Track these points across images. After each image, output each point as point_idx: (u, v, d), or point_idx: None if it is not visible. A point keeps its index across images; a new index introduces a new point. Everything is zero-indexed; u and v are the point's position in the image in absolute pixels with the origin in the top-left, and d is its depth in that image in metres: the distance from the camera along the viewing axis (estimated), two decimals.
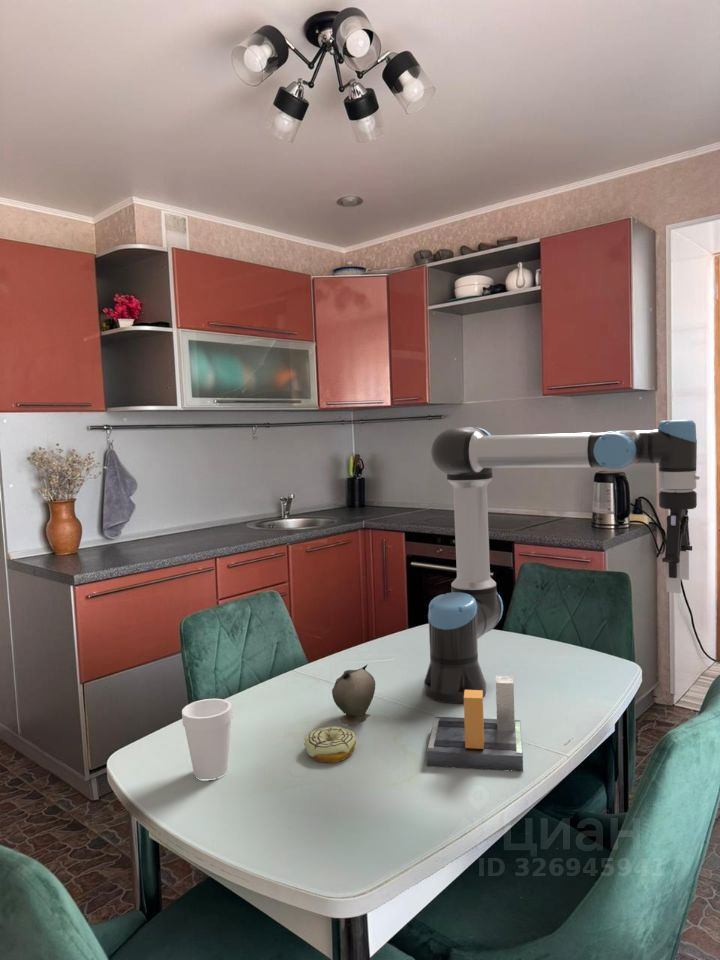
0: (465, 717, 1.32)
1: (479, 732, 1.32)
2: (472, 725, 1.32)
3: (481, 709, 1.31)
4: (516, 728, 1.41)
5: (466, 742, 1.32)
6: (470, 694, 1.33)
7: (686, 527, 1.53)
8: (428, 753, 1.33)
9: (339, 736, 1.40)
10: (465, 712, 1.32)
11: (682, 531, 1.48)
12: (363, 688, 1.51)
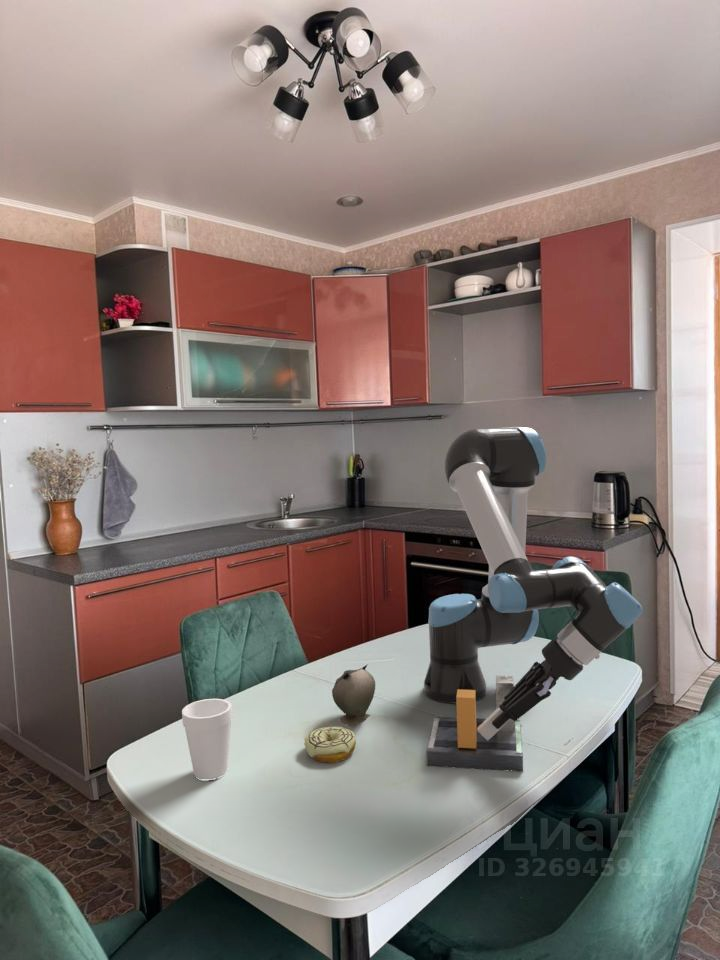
0: (458, 717, 1.32)
1: (471, 731, 1.32)
2: (465, 725, 1.32)
3: (474, 709, 1.32)
4: (516, 728, 1.41)
5: (459, 742, 1.33)
6: (462, 694, 1.33)
7: None
8: (428, 753, 1.33)
9: (339, 736, 1.40)
10: (458, 712, 1.32)
11: None
12: (363, 688, 1.51)
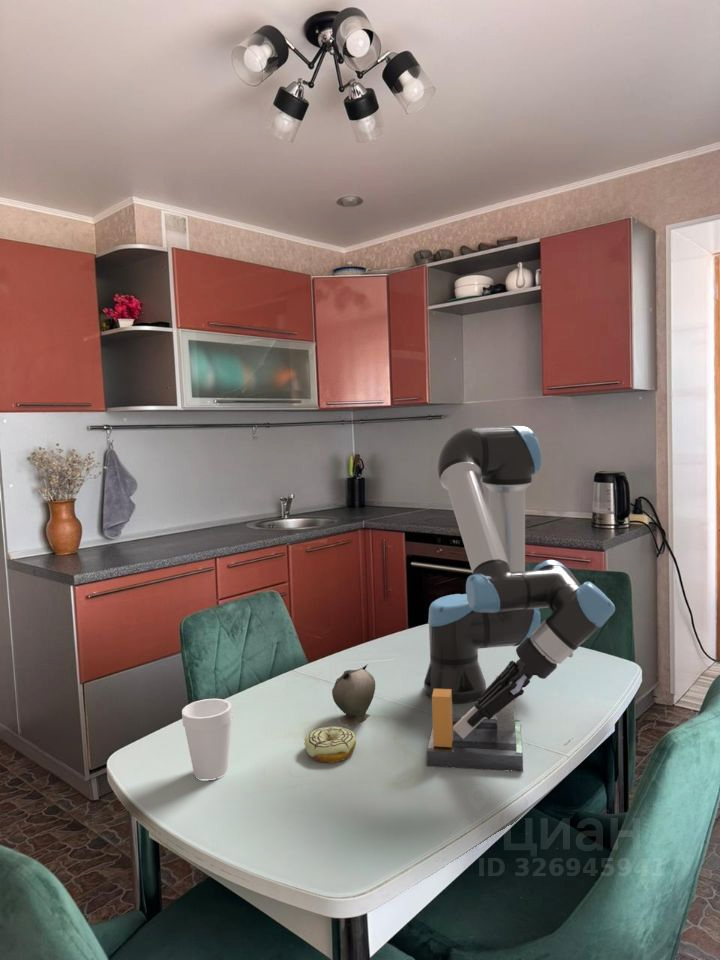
0: (433, 716, 1.33)
1: (447, 730, 1.33)
2: (440, 724, 1.33)
3: (449, 708, 1.33)
4: (516, 728, 1.41)
5: (434, 740, 1.34)
6: (438, 693, 1.34)
7: None
8: (428, 753, 1.33)
9: (339, 736, 1.40)
10: (433, 711, 1.33)
11: None
12: (363, 688, 1.51)
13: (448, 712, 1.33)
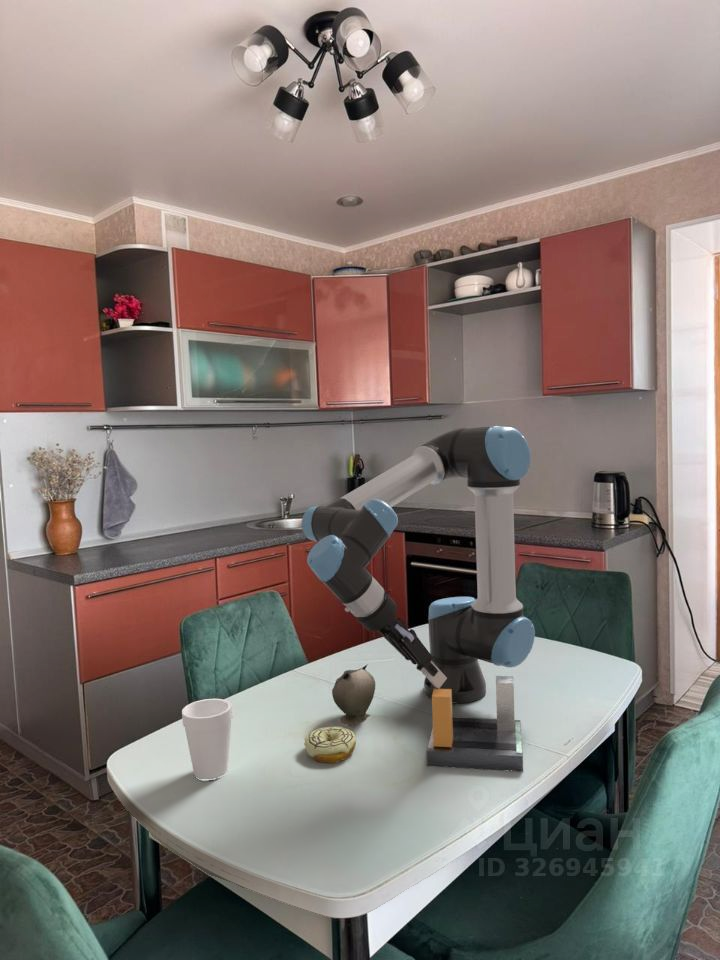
0: (433, 716, 1.33)
1: (447, 730, 1.33)
2: (440, 724, 1.33)
3: (449, 708, 1.33)
4: (516, 728, 1.41)
5: (434, 740, 1.34)
6: (438, 693, 1.34)
7: None
8: (428, 753, 1.33)
9: (339, 736, 1.40)
10: (433, 711, 1.33)
11: None
12: (363, 688, 1.51)
13: (448, 712, 1.33)
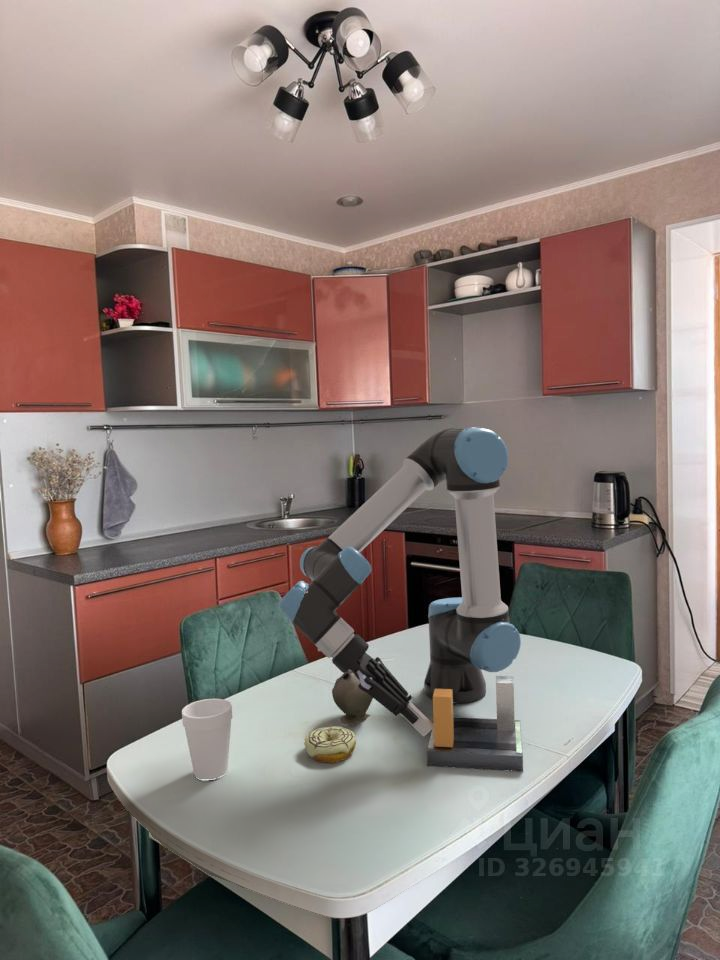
0: (434, 716, 1.33)
1: (448, 730, 1.33)
2: (441, 724, 1.33)
3: (450, 708, 1.33)
4: (516, 728, 1.41)
5: (435, 740, 1.34)
6: (439, 693, 1.34)
7: None
8: (428, 753, 1.33)
9: (339, 736, 1.40)
10: (434, 711, 1.33)
11: None
12: None
13: (449, 712, 1.33)
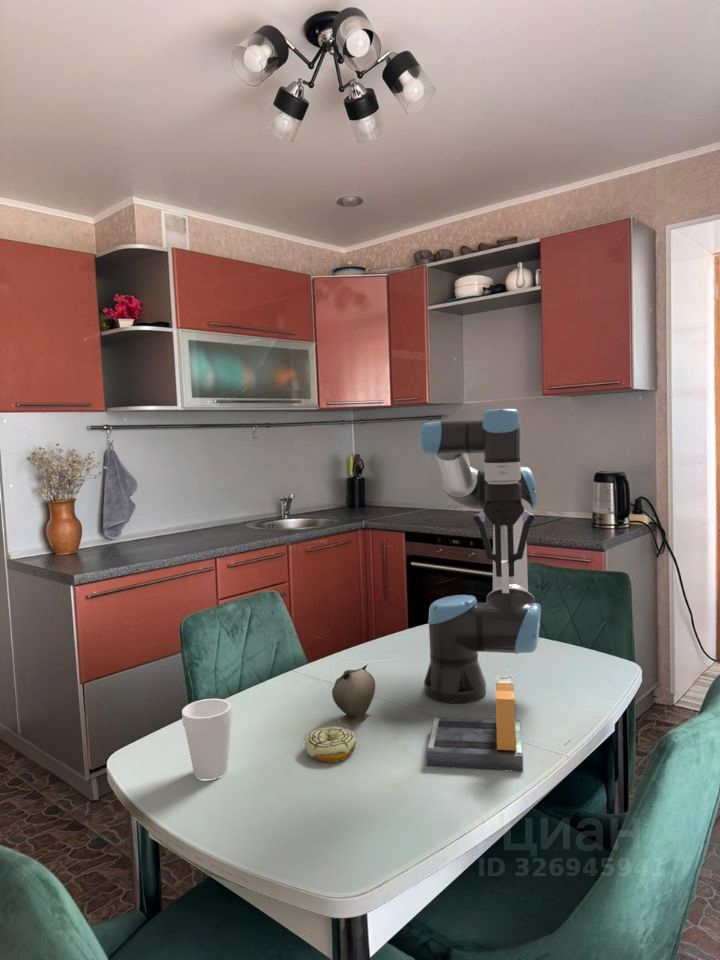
0: (497, 718, 1.31)
1: (511, 733, 1.31)
2: (504, 727, 1.31)
3: (513, 710, 1.30)
4: (516, 728, 1.41)
5: (498, 744, 1.31)
6: (501, 695, 1.32)
7: (507, 523, 1.45)
8: (428, 753, 1.33)
9: (339, 736, 1.40)
10: (497, 713, 1.31)
11: (494, 528, 1.45)
12: (363, 688, 1.51)
13: (512, 715, 1.30)
